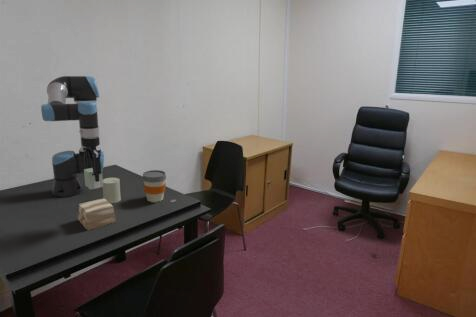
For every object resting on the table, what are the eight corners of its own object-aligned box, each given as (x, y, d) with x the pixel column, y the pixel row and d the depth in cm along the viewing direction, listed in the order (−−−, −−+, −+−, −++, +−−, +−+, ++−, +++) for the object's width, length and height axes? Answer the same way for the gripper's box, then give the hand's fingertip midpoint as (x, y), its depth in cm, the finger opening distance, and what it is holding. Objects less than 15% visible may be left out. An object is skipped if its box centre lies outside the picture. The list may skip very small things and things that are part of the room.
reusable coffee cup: (150, 193, 201) (149, 168, 197) (170, 196, 198) (170, 171, 194) (139, 201, 189) (137, 175, 185) (159, 205, 186) (159, 178, 182)
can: (115, 204, 185) (113, 183, 182) (99, 202, 187) (98, 181, 183) (124, 197, 194) (122, 177, 190) (109, 195, 195) (107, 175, 192)
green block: (85, 185, 161) (83, 169, 158) (98, 183, 165) (96, 166, 162) (90, 189, 156) (88, 172, 154) (103, 186, 160) (102, 170, 158)
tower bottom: (78, 221, 167) (77, 212, 165) (105, 213, 175) (104, 205, 174) (87, 231, 157) (87, 222, 156) (115, 223, 166) (115, 214, 165)
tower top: (79, 212, 165) (78, 203, 164) (104, 206, 173) (103, 198, 172) (88, 221, 157) (87, 212, 156) (114, 214, 164) (113, 206, 163)
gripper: (73, 133, 158) (78, 181, 165) (89, 142, 145) (94, 193, 151) (90, 132, 163) (94, 178, 169) (107, 139, 150) (110, 189, 156)
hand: (94, 185), depth 160 cm, fingers closed on green block, 6 cm apart
